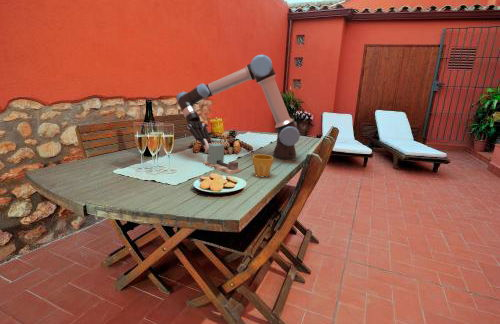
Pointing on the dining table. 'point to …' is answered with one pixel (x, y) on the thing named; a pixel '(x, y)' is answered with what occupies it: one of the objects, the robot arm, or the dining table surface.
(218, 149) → the marker sleeve
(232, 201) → the dining table surface
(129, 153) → the dining table surface
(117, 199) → the dining table surface
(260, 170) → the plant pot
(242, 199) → the dining table surface
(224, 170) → the cord board
